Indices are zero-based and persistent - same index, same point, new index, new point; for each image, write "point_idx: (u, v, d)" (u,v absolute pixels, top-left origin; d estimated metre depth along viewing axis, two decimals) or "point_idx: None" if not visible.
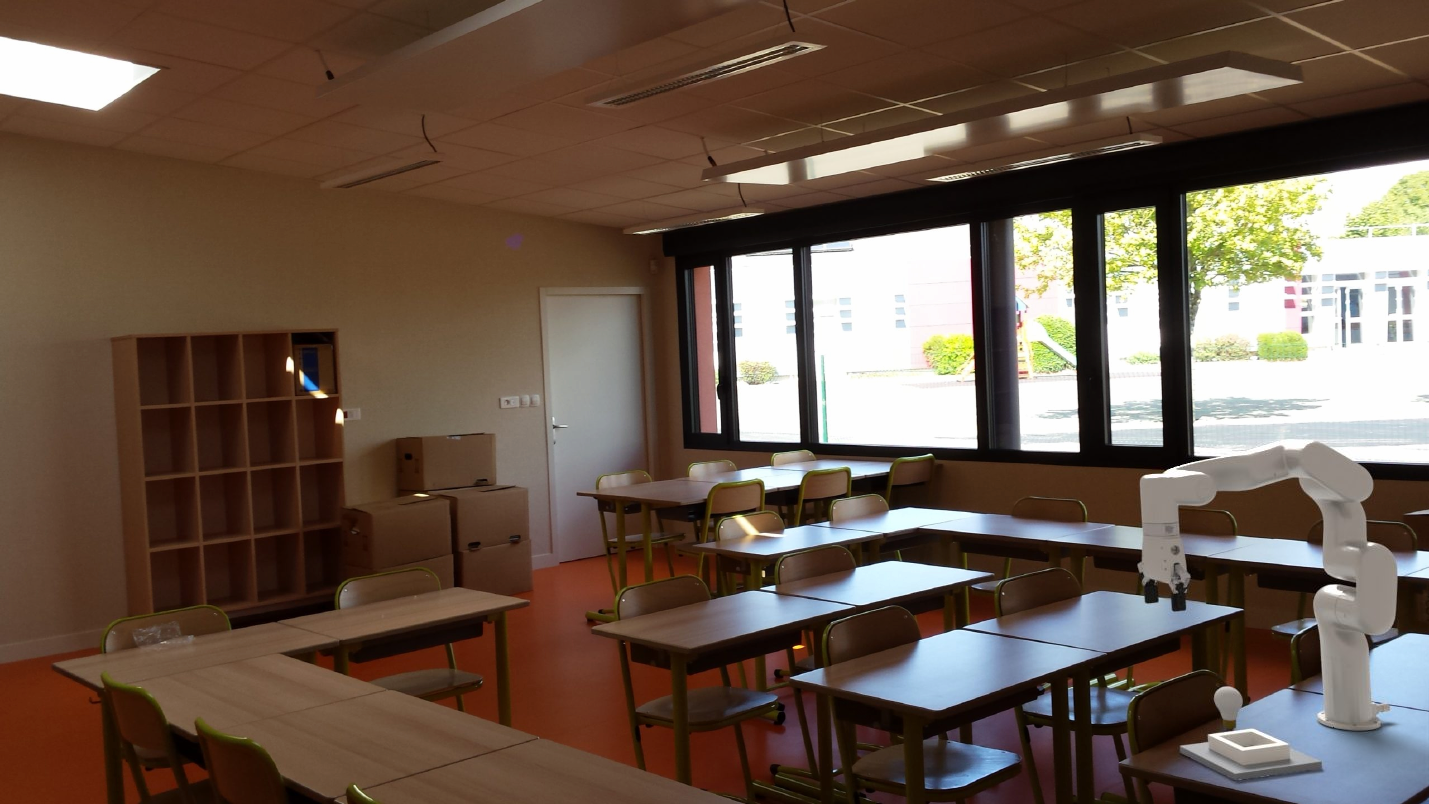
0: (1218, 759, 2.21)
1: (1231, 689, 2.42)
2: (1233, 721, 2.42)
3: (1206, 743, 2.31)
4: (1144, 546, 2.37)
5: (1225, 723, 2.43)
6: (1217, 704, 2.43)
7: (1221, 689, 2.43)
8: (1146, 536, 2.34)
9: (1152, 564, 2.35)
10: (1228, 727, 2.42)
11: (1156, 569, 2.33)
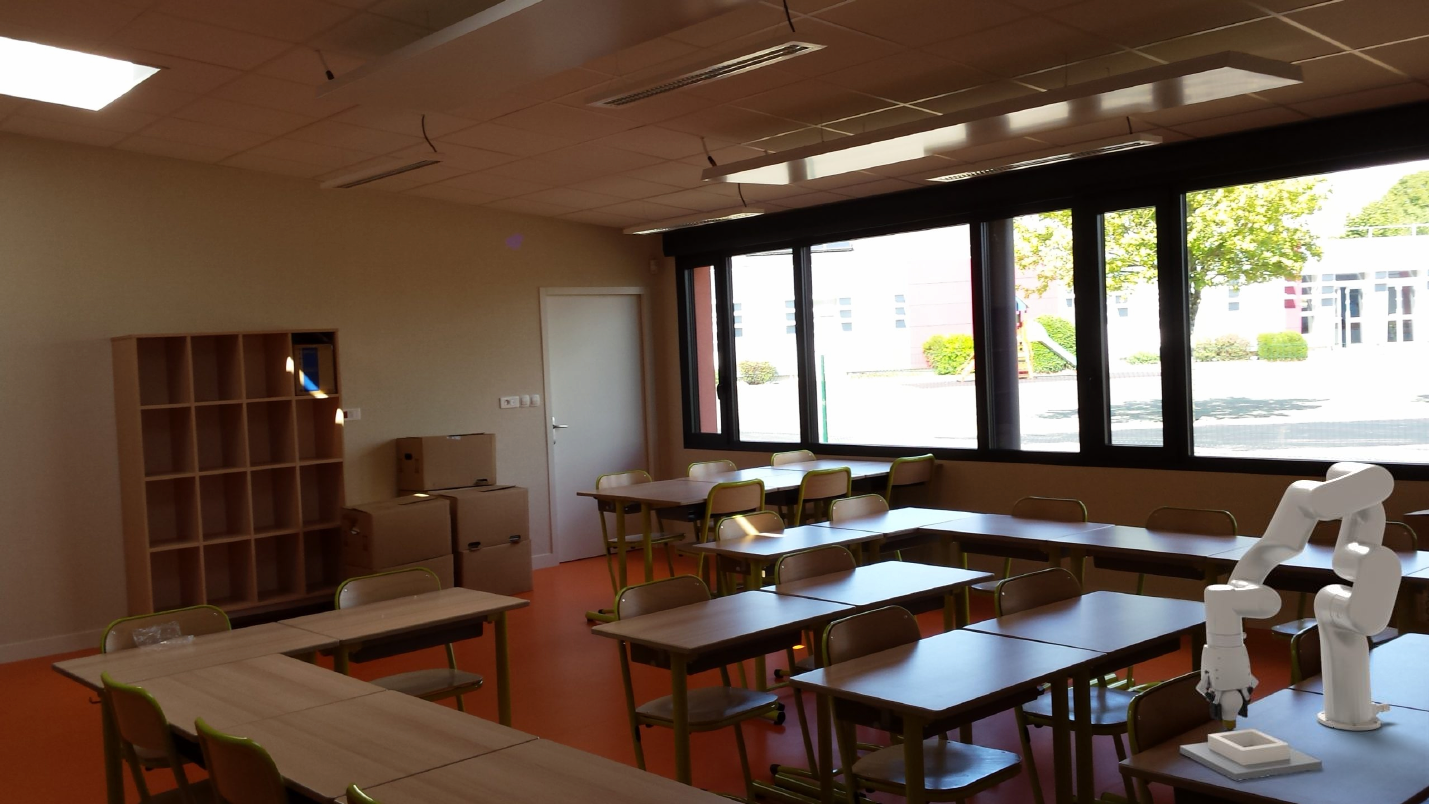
0: (1218, 759, 2.21)
1: None
2: (1233, 721, 2.42)
3: (1206, 743, 2.31)
4: (1221, 660, 2.41)
5: (1225, 723, 2.43)
6: None
7: None
8: (1236, 647, 2.40)
9: (1232, 674, 2.41)
10: (1228, 727, 2.42)
11: (1237, 678, 2.41)
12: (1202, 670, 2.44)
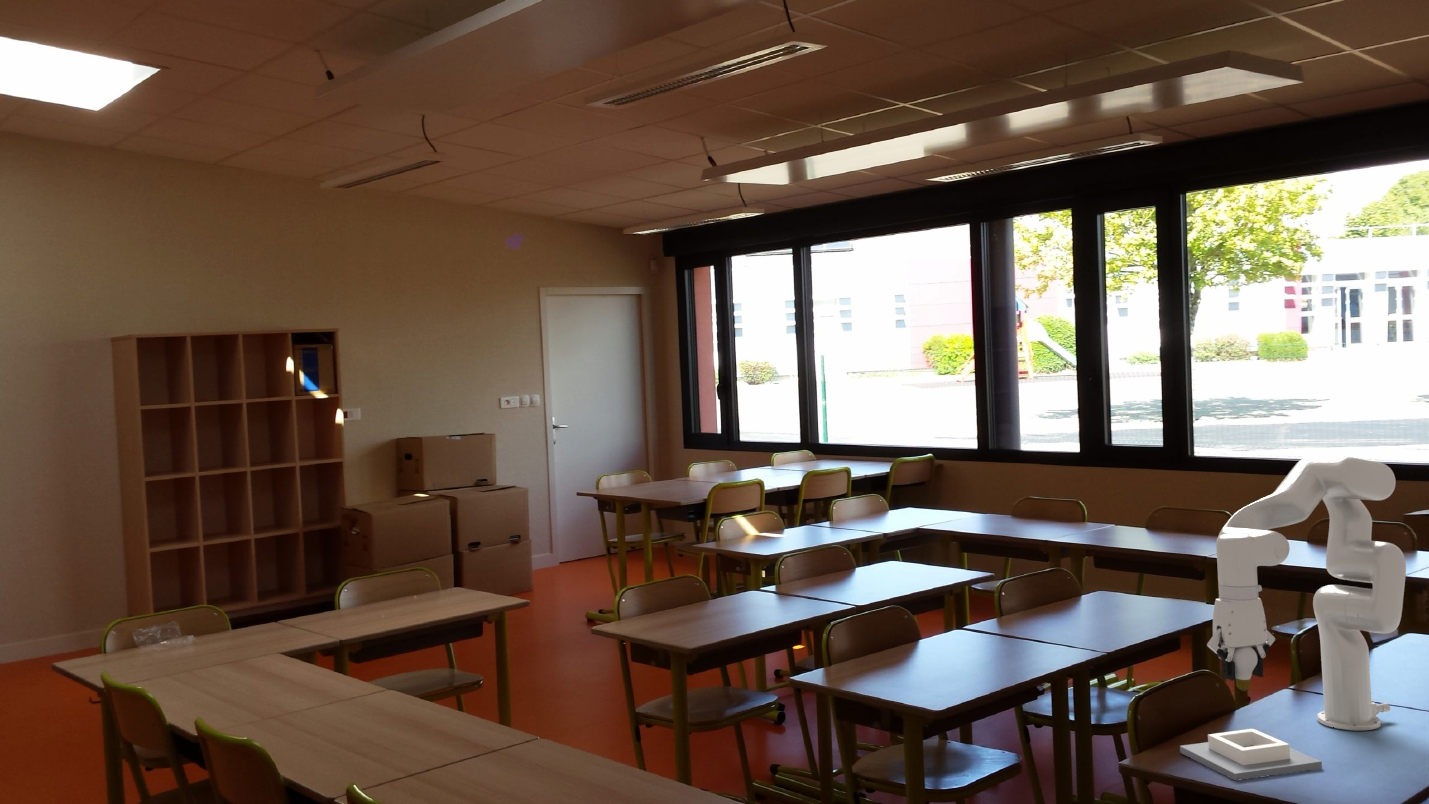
0: (1218, 759, 2.21)
1: None
2: (1247, 681, 2.23)
3: (1206, 743, 2.31)
4: (1234, 614, 2.22)
5: (1238, 683, 2.24)
6: None
7: None
8: (1251, 600, 2.21)
9: (1247, 630, 2.22)
10: (1242, 687, 2.24)
11: (1252, 633, 2.23)
12: (1214, 626, 2.25)
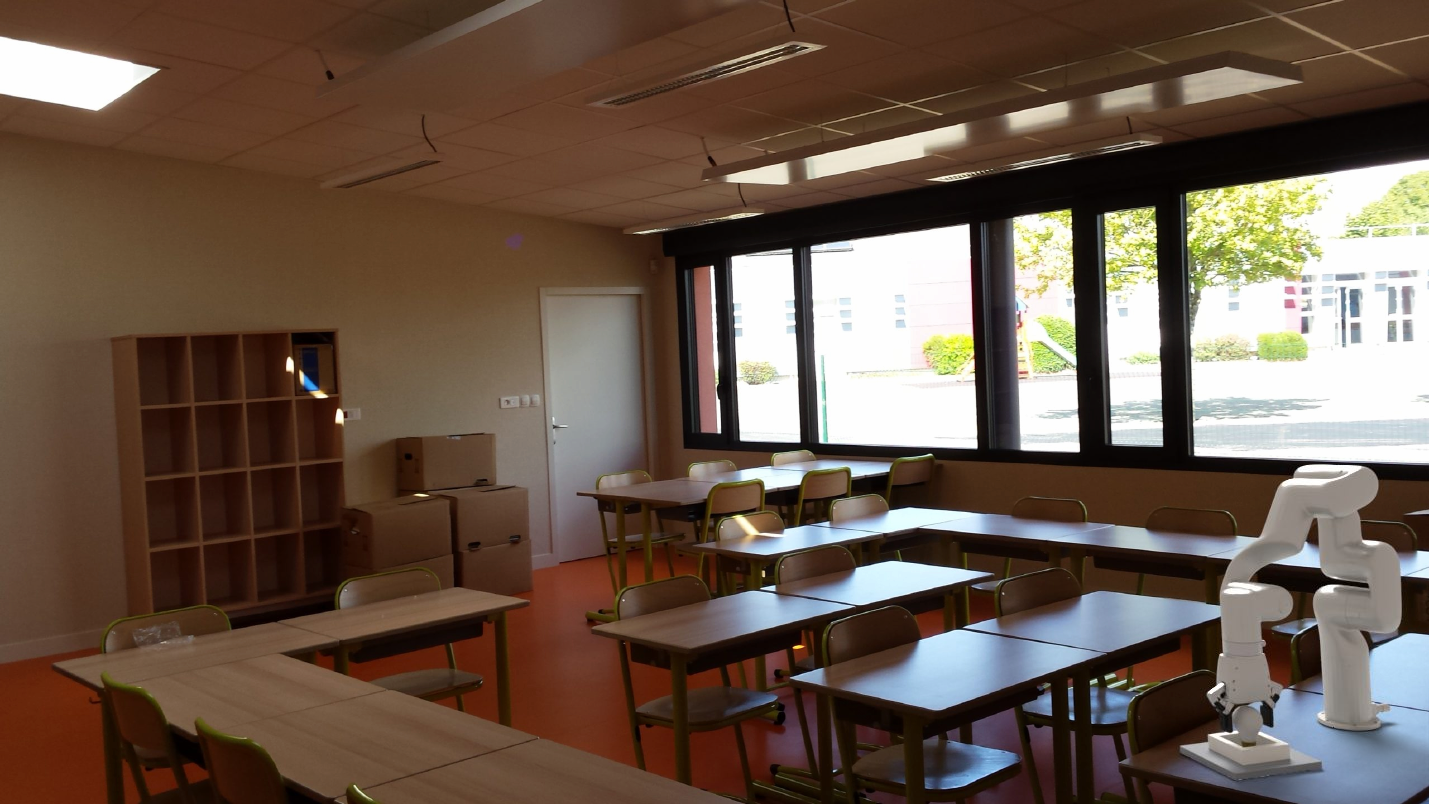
0: (1218, 759, 2.21)
1: (1250, 708, 2.23)
2: (1253, 743, 2.23)
3: (1206, 743, 2.31)
4: (1238, 670, 2.21)
5: (1244, 745, 2.24)
6: (1235, 725, 2.24)
7: (1239, 708, 2.24)
8: (1255, 657, 2.20)
9: (1251, 686, 2.22)
10: None
11: (1256, 689, 2.22)
12: (1218, 681, 2.25)
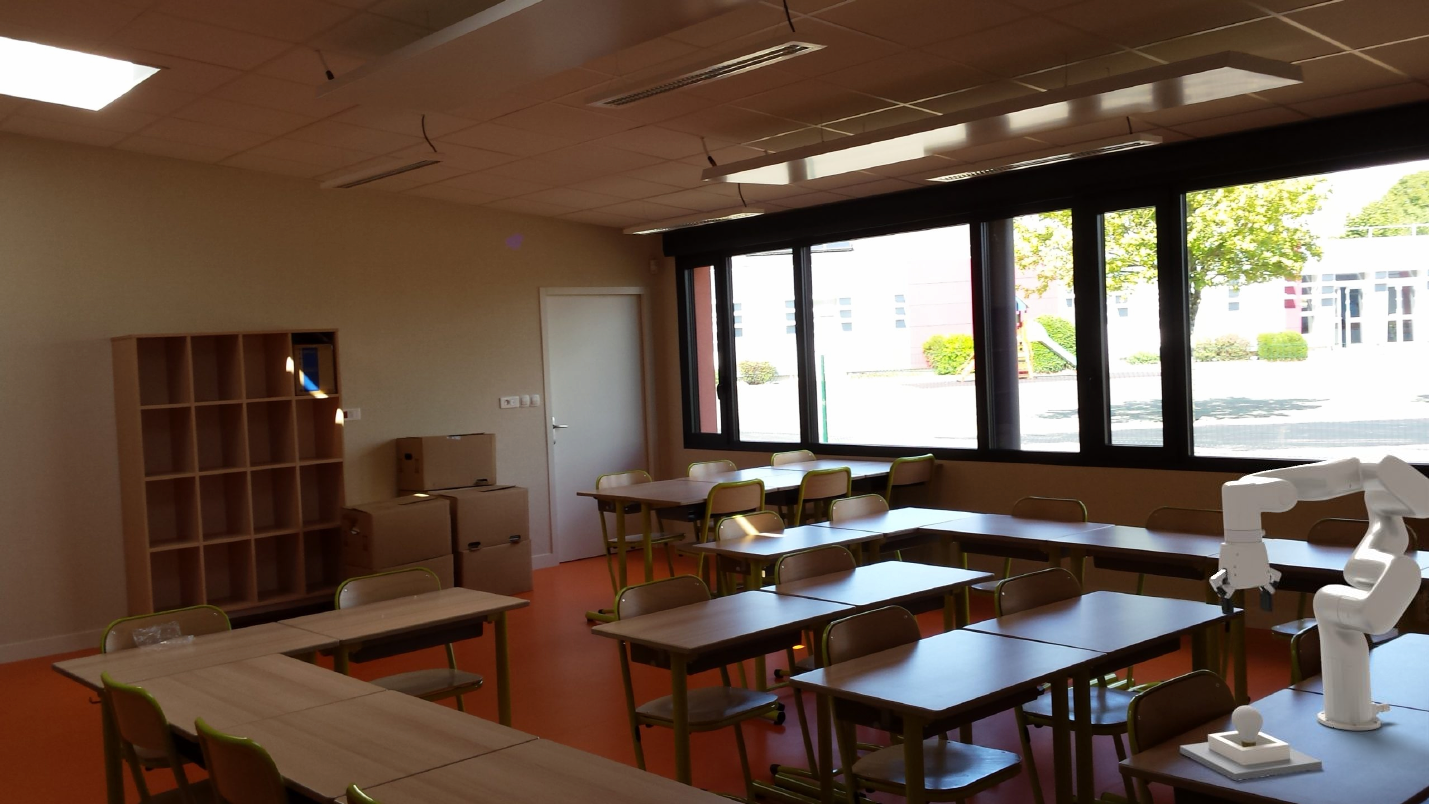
0: (1218, 759, 2.21)
1: (1250, 708, 2.23)
2: (1253, 743, 2.23)
3: (1206, 743, 2.31)
4: (1239, 556, 2.34)
5: (1244, 745, 2.24)
6: (1235, 725, 2.24)
7: (1239, 708, 2.24)
8: (1255, 543, 2.33)
9: (1251, 571, 2.34)
10: None
11: (1256, 575, 2.34)
12: (1220, 568, 2.37)
